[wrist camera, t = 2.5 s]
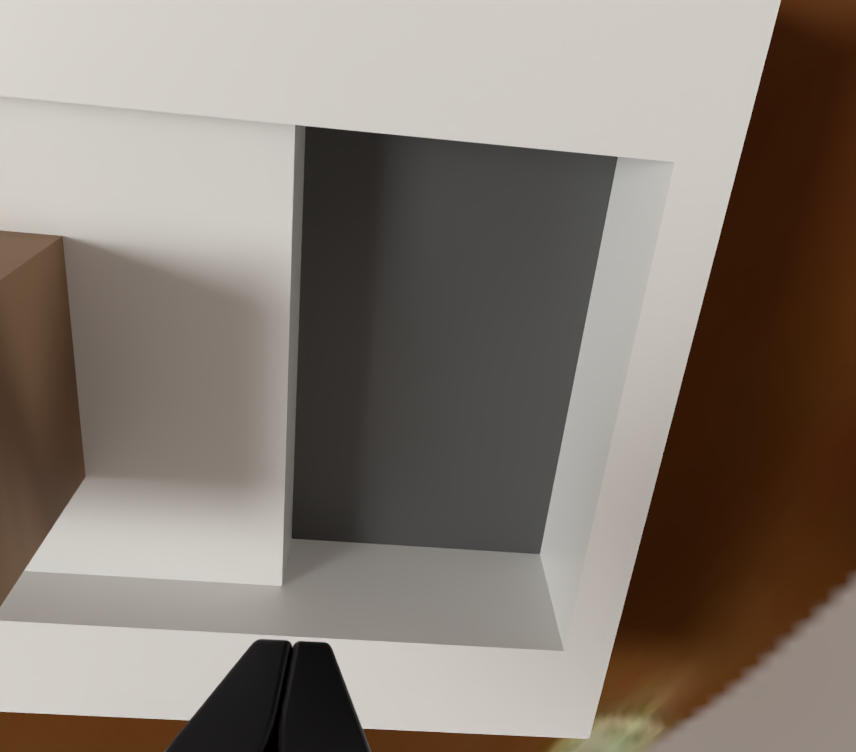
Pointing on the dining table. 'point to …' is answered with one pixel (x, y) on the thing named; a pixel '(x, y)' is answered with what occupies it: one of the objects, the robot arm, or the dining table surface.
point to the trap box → (364, 335)
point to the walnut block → (35, 398)
